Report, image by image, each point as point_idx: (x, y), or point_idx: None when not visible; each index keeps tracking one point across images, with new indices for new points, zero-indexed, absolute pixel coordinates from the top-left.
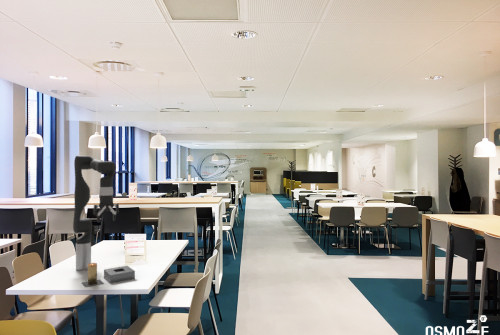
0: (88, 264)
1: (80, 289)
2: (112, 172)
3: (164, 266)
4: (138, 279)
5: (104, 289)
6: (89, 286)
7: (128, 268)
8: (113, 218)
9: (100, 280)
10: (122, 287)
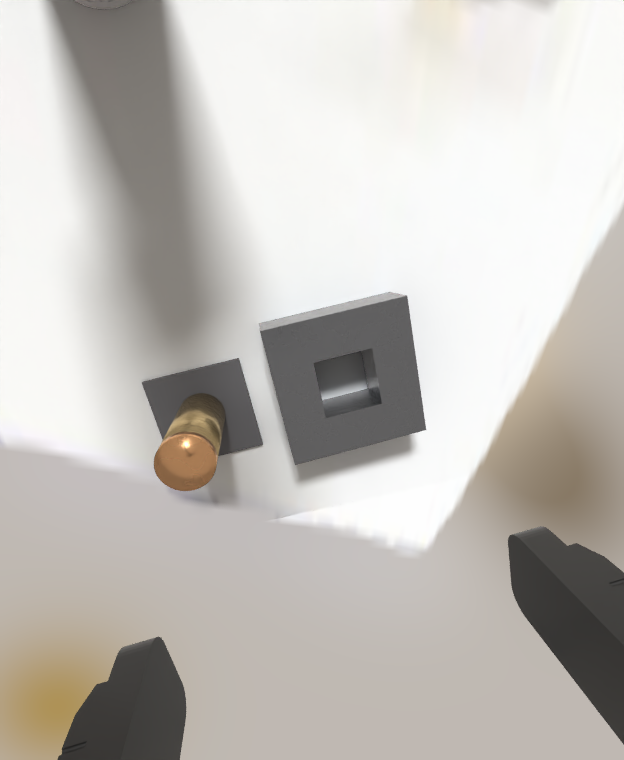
0: (159, 469)
1: (152, 478)
2: None
3: (608, 225)
4: None
5: (263, 510)
6: None
7: (403, 367)
8: (557, 640)
9: (242, 383)
10: (340, 508)
